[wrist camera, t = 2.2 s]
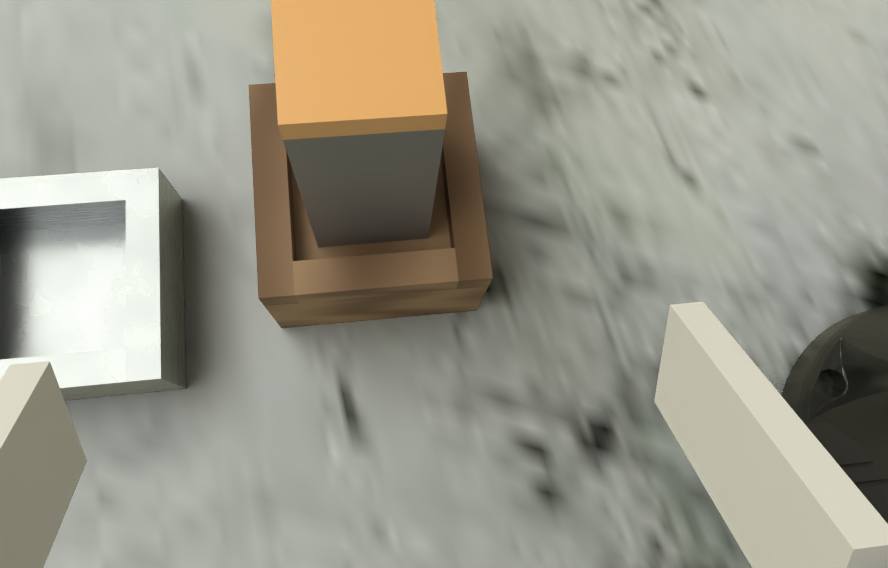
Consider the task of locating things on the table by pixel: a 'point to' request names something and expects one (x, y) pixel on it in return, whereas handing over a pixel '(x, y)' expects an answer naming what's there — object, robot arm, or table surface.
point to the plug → (361, 114)
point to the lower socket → (94, 280)
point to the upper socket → (374, 264)
